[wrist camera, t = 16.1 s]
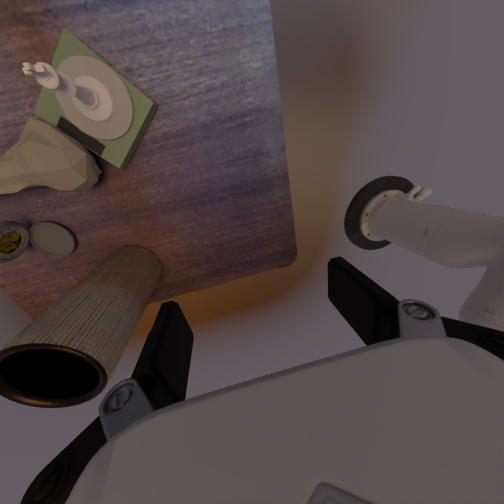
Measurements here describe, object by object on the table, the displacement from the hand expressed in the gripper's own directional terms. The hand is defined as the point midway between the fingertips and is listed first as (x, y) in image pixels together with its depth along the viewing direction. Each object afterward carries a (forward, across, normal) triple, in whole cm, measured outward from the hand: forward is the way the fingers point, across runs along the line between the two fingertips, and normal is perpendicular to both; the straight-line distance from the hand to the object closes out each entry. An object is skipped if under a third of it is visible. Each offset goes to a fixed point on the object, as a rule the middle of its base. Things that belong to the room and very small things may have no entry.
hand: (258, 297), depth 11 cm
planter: (+28, +22, +8) cm, 37 cm away
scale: (+28, +15, -18) cm, 36 cm away
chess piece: (+26, +14, -18) cm, 34 cm away
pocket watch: (+28, +33, -2) cm, 44 cm away
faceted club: (+28, +30, -12) cm, 43 cm away
